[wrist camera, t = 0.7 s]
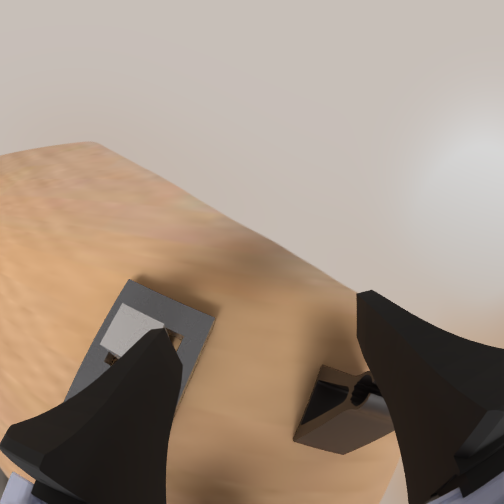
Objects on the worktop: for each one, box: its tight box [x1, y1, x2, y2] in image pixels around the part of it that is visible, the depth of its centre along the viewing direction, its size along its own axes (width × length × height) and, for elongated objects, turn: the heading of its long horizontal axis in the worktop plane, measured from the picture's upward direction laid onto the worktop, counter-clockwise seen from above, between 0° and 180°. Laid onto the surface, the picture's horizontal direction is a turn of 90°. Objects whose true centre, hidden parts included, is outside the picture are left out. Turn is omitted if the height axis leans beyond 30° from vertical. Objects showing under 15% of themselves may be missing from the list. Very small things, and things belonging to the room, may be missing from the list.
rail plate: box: [64, 279, 215, 416], centre depth 20 cm, size 24×10×2 cm, turn 162°
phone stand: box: [293, 365, 395, 455], centre depth 20 cm, size 9×6×12 cm, turn 156°
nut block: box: [100, 303, 169, 359], centre depth 22 cm, size 4×4×7 cm
